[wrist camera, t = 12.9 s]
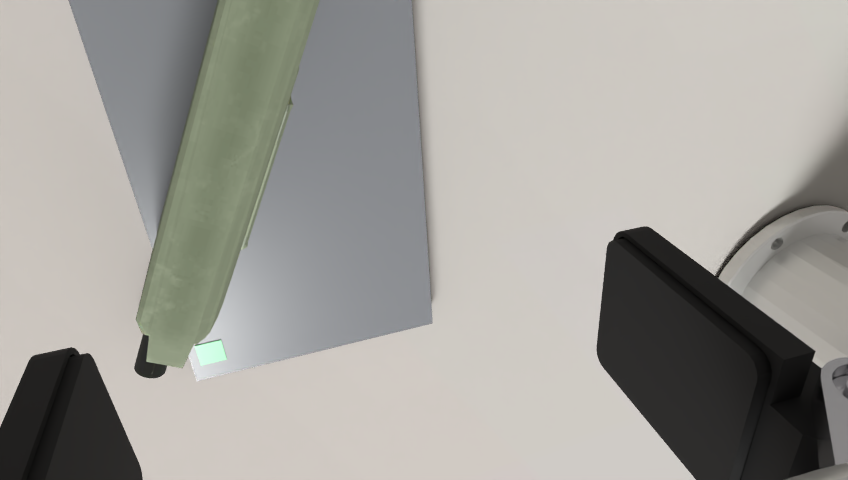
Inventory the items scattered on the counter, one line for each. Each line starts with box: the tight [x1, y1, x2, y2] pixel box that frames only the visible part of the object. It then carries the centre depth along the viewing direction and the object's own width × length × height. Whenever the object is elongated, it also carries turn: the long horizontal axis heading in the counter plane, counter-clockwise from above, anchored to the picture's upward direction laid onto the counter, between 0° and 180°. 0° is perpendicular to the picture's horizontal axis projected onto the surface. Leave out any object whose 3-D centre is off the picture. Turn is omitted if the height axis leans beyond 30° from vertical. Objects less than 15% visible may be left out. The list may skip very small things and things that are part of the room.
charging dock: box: [69, 0, 432, 381], centre depth 24 cm, size 12×26×1 cm, turn 3°
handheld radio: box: [134, 0, 320, 378], centre depth 20 cm, size 7×3×25 cm
